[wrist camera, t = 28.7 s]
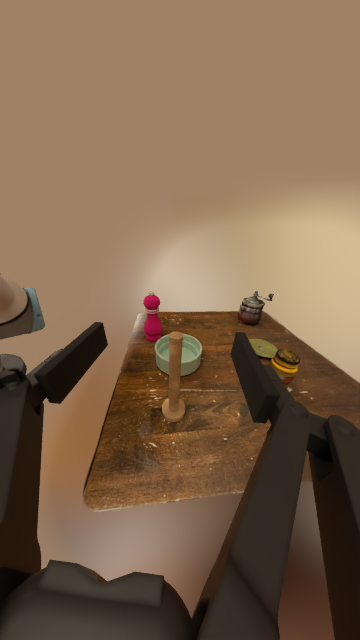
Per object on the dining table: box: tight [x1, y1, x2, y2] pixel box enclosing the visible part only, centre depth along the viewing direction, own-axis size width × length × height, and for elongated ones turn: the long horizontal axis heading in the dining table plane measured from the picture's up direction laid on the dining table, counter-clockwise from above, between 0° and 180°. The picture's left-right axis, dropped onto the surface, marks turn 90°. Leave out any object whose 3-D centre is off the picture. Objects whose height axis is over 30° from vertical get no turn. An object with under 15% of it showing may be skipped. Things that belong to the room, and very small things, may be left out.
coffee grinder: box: [238, 291, 274, 325], centre depth 74 cm, size 13×15×18 cm
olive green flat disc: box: [249, 339, 278, 358], centre depth 58 cm, size 11×11×2 cm
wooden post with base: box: [162, 332, 185, 422], centre depth 32 cm, size 6×6×22 cm
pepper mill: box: [144, 291, 162, 342], centre depth 59 cm, size 7×7×20 cm
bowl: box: [155, 334, 202, 376], centre depth 51 cm, size 15×15×6 cm
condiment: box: [269, 349, 300, 392], centre depth 42 cm, size 7×8×12 cm
